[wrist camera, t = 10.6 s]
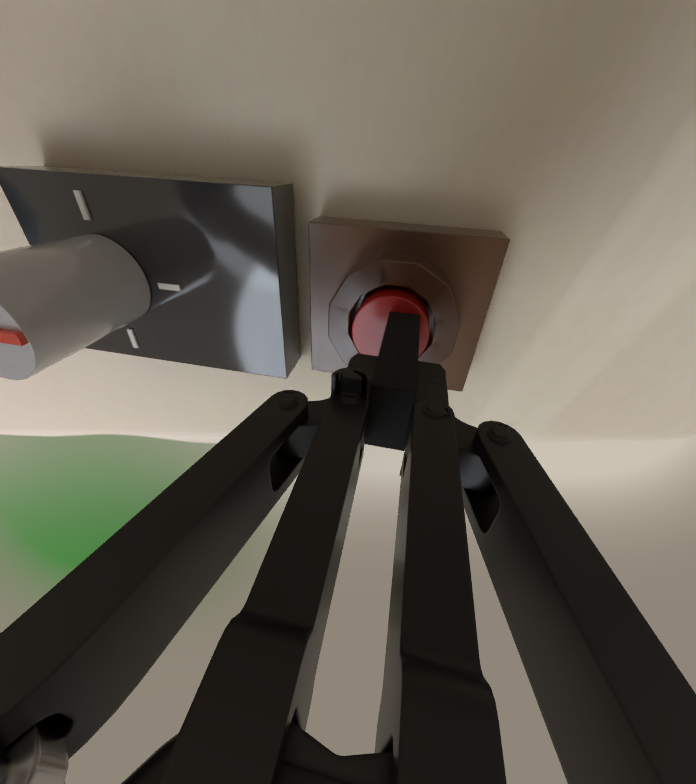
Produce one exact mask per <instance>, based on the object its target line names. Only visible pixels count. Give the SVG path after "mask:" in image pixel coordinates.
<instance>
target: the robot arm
mask: <svg viewBox="0 0 696 784" xmlns="http://www.w3.org/2000/svg"><path fill="white" fill-rule="evenodd" d="M419 335H420V315H416V314H408V313H400V312H391V311H390V312H389V316H388V320H387V324H386V328H385V332H384V336H383V339H382V343H381V347H380V351H379V355H378V356H373V355H366V354H358V353H357V354H356V355H355V356H353V357H352V358H350V361H349V363H348V366H347V367H346V368H341V369H338V370H336V371H335V372H334V373H333V374H332V386H331V397H330V398H328V399H325V400H320V401H308V398H307V397H306V396H305V394H303V393H301V392H299V391H294V390H284V391H281V392H277V393H276V394H274V395H272V396H271V397H270V398H269V399H268V400H267V401H265V402H264V403H263V404H262V405H261V406H260V407H259V408H258V409H256V410H255V411H254V412H253V413H252V414H251V415H250V416H248V417H247V418H246V419H245V420H244V421H243V422H242V423H240V424H239V425H238V426H237V427H236V428H235V429H234V430H232V431H231V432H230V433H229V434H228V435H227V436H226V437H224V438H223V439H222V440H221V441H220V442H219V443H218V444H216V445H215V446H214V447H213V448H212V449H211V450H210V451H209V452H207V453H206V454H205V455H204V456H203V457H202V458H200V459H199V460H198V461H197V462H196V463H195V464H194V465H192V466H191V467H190V468H189V469H188V470H187V471H186V472H184V473H183V474H182V475H181V476H180V477H179V478H178V479H177V480H175V481H174V482H173V483H172V484H171V485H170V486H169V487H167V488H166V489H165V490H164V491H163V492H162V493H161V494H159V495H158V496H157V497H156V498H155V499H154V500H153V501H152V502H150V503H149V504H148V505H147V506H146V507H145V508H143V509H142V510H141V511H140V512H139V513H138V514H137V515H135V516H134V517H133V518H132V519H131V520H130V521H129V522H128V523H126V524H125V525H124V526H123V527H122V528H121V529H120V530H118V531H117V532H116V533H115V534H114V535H113V536H111V537H110V538H109V539H108V540H107V541H106V542H105V543H103V544H102V545H101V546H100V547H99V548H98V549H97V550H95V551H94V552H93V553H92V554H91V555H90V556H89V557H88V558H86V559H85V560H84V561H83V562H82V563H81V564H80V565H79V566H77V567H76V568H75V569H74V570H73V571H72V572H70V573H69V574H68V575H67V576H66V577H65V578H64V579H62V580H61V581H60V582H59V583H58V584H57V585H56V586H54V587H53V588H52V589H51V590H50V591H49V592H48V593H47V594H45V595H44V596H43V597H42V598H41V599H40V600H38V601H37V602H36V603H35V604H34V605H33V606H32V607H30V608H29V609H28V610H27V611H26V612H25V613H24V614H22V615H21V616H20V617H19V618H18V619H17V620H16V621H14V622H13V623H12V624H11V625H10V626H9V627H8V628H7V629H5V630H4V631H3V632H2V633H0V784H65V778H66V773H67V769H68V759H69V758H70V757H72V756H73V754H75V753H76V752H77V751H78V750H79V749H80V748H81V747H82V746H83V745H84V744H85V743H87V742H88V740H89V739H90V738H91V737H92V736H93V735H94V734H95V733H96V732H97V731H98V730H99V729H100V727H102V726H103V724H104V723H105V722H106V721H107V720H108V719H109V718H110V717H111V716H112V715H113V714H114V713H115V712H116V711H117V709H118V708H119V707H120V706H121V704H122V703H123V702H124V701H125V700H126V698H127V697H128V696H129V694H131V692H132V691H133V690H134V688H135V687H136V686H137V685H138V684H139V682H140V681H141V680H142V679H143V677H144V676H145V675H146V673H147V672H148V671H149V669H150V668H151V667H152V665H153V664H154V663H155V662H156V660H157V659H158V658H159V656H160V655H161V654H162V652H163V651H164V650H165V648H166V647H167V646H168V644H169V643H170V642H171V640H172V639H173V638H174V636H175V635H176V634H177V633H178V631H179V630H180V629H181V627H182V626H183V625H184V623H185V622H186V621H187V619H188V618H189V617H190V616H191V614H192V613H193V611H194V610H195V609H196V607H197V606H198V605H199V604H200V602H201V601H202V600H203V598H204V597H205V596H206V595H207V593H208V592H209V591H210V589H211V588H212V586H213V585H214V584H215V583H216V581H217V580H218V579H219V577H220V576H221V575H222V574H223V572H224V571H225V570H226V568H227V567H228V566H229V564H230V563H231V562H232V560H233V559H234V558H235V556H236V555H237V554H238V553H239V551H240V550H241V548H242V547H243V546H244V545H245V543H246V542H247V541H248V539H249V538H250V537H251V535H252V534H253V533H254V531H255V530H256V529H257V527H258V526H259V525H260V524H261V522H262V521H263V520H264V518H265V517H266V516H267V514H268V513H269V512H270V510H271V509H272V508H273V506H274V505H275V504H276V503H277V501H278V500H279V499H280V497H281V496H282V495H283V493H284V492H285V491H286V489H287V488H288V487H289V486H290V484H291V483H292V482H293V480H294V479H295V478H296V476H297V475H298V474H299V475H298V477H297V480H296V482H295V484H294V487H293V489H292V492H291V494H290V497H289V499H288V502H287V504H286V507H285V509H284V511H283V514H282V516H281V518H280V521H279V523H278V526H277V528H276V531H275V533H274V536H273V538H272V540H271V543H270V545H269V548H268V550H267V553H266V555H265V558H264V560H263V562H262V565H261V567H260V570H259V572H258V575H257V577H256V579H255V582H254V585H253V587H252V589H251V592H250V594H249V596H248V599H247V601H246V603H245V605H244V607H243V609H242V611H241V612H240V613H239V614H238V615H236V616H235V617H234V618H232V619H231V621H230V622H229V624H228V625H227V627H226V628H225V630H224V632H223V634H222V636H221V638H220V640H219V642H218V645H217V647H216V649H215V651H214V654H213V656H212V659H211V660H210V663H209V665H208V667H207V670H206V672H205V674H204V677H203V679H202V681H201V683H200V686H199V688H198V690H197V693H196V695H195V698H194V700H193V702H192V704H191V707H190V709H189V711H188V713H187V716H186V718H185V720H184V723H183V725H182V727H181V730H180V732H179V733H178V734H177V735H175V736H174V737H173V738H171V739H170V740H169V741H167V742H166V743H165V744H164V745H163V746H161V747H160V748H159V749H158V750H157V751H156V752H155V753H154V754H152V755H151V756H150V757H149V758H148V759H147V760H146V761H145V762H144V763H143V764H142V765H141V766H140V767H139V768H137V769H136V770H135V771H134V772H133V773H132V774H131V775H130V776H129V777H128V778H127V779H126V780H125V781H124V782H123V783H121V784H506V776H505V768H504V760H503V752H502V744H501V736H500V728H499V720H498V715H497V709H496V703H495V699H494V696H493V693H492V690H491V687H490V686H489V684H488V683H487V681H486V680H485V678H484V677H483V674H482V671H481V667H480V660H479V650H478V641H477V631H476V621H475V611H474V601H473V592H472V582H471V572H470V562H469V553H468V543H467V534H466V523H465V513H464V508H465V511H466V513H467V516H468V519H469V522H470V524H471V527H472V529H473V532H474V535H475V538H476V540H477V543H478V545H479V548H480V551H481V553H482V556H483V559H484V561H485V564H486V567H487V569H488V572H489V575H490V577H491V580H492V583H493V585H494V588H495V591H496V593H497V596H498V599H499V601H500V604H501V607H502V609H503V612H504V614H505V617H506V620H507V623H508V625H509V628H510V631H511V633H512V636H513V639H514V641H515V644H516V647H517V649H518V652H519V654H520V657H521V660H522V663H523V665H524V668H525V670H526V673H527V676H528V678H529V681H530V684H531V686H532V689H533V692H534V694H535V697H536V699H537V702H538V705H539V708H540V710H541V713H542V716H543V718H544V721H545V723H546V726H547V729H548V731H549V734H550V737H551V740H552V742H553V745H554V748H555V750H556V753H557V755H558V758H559V761H560V763H561V766H562V769H563V772H564V774H565V777H566V779H567V782H568V784H696V694H695V692H694V691H693V689H692V688H691V686H690V685H689V683H688V682H687V680H686V679H685V677H684V676H683V675H682V673H681V672H680V670H679V669H678V668H677V666H676V664H675V663H674V661H673V660H672V658H671V657H670V655H669V654H668V652H667V651H666V649H665V648H664V646H663V645H662V643H661V642H660V641H659V639H658V638H657V636H656V635H655V633H654V632H653V630H652V629H651V627H650V626H649V624H648V623H647V621H646V620H645V618H644V617H643V615H642V614H641V612H640V611H639V610H638V608H637V607H636V605H635V604H634V602H633V601H632V599H631V598H630V596H629V595H628V593H627V592H626V590H625V589H624V587H623V586H622V584H621V583H620V582H619V580H618V579H617V577H616V576H615V574H614V573H613V571H612V570H611V568H610V567H609V565H608V564H607V562H606V561H605V559H604V558H603V556H602V555H601V554H600V552H599V550H598V549H597V548H596V546H595V545H594V543H593V542H592V540H591V539H590V537H589V536H588V534H587V533H586V531H585V530H584V528H583V527H582V525H581V524H580V522H579V521H578V519H577V518H576V517H575V515H574V514H573V512H572V511H571V509H570V508H569V506H568V505H567V503H566V502H565V500H564V499H563V497H562V496H561V494H560V493H559V491H558V490H557V489H556V487H555V485H554V484H553V483H552V481H551V480H550V478H549V477H548V475H547V474H546V472H545V471H544V469H543V468H542V466H541V465H540V463H539V462H538V460H537V459H536V457H535V456H534V454H533V453H532V452H531V450H530V449H529V448H528V446H527V444H526V443H525V441H524V440H523V438H522V437H521V435H520V434H519V433H518V432H517V431H516V430H515V429H513V428H512V427H510V426H508V425H506V424H503V423H501V422H496V421H487V422H483V423H481V424H480V425H479V426H478V428H476V427H474V426H471V425H468V424H466V423H464V422H462V421H460V420H458V419H457V418H456V417H455V416H454V412H453V410H452V408H451V407H450V406H449V403H448V392H447V380H446V371H445V370H444V368H443V367H442V366H441V365H440V364H436V363H429V362H422V361H418V357H419ZM364 443H365V444H368V445H374V446H379V447H385V448H391V449H397V450H402V451H404V450H405V452H404V457H403V462H402V467H401V471H400V476H401V485H400V497H399V508H398V520H397V531H396V542H395V554H394V565H393V578H392V588H391V599H390V611H389V622H388V635H387V645H386V656H385V668H384V679H383V690H382V698H381V704H380V710H379V717H378V725H377V735H376V746H375V753H373V754H361V755H351V756H339V755H336V754H334V753H333V752H331V751H330V750H329V749H327V748H326V747H325V746H324V745H322V744H321V743H320V742H318V741H317V740H316V739H314V738H313V737H312V736H310V735H309V734H308V733H306V732H305V728H306V724H307V719H308V714H309V709H310V704H311V699H312V693H313V685H314V680H315V674H316V669H317V664H318V659H319V655H320V650H321V646H322V641H323V636H324V632H325V627H326V622H327V618H328V614H329V609H330V604H331V600H332V595H333V590H334V586H335V581H336V577H337V572H338V568H339V562H340V558H341V554H342V549H343V545H344V540H345V535H346V531H347V526H348V522H349V517H350V512H351V508H352V503H353V499H354V494H355V489H356V485H357V480H358V476H359V471H360V466H361V462H362V457H363V450H364Z"/></svg>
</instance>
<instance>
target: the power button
mask: <svg viewBox="0 0 696 784" xmlns="http://www.w3.org/2000/svg"><path fill="white" fill-rule="evenodd" d="M390 311H391V312H400V313H408V314H416V315H420V335H419V356H420V355H421V353H422V352H423V351H424V349H425V348H426V346H427V343H428V340H429V313H428V309H427V307H426V305H425V303H424V301H423V300H422V299H421V298H420V296H419V295H417V294H416V293H415V292H413V291H412V290H410V289H408V288H405V287H400V286H385V287H381V288H378V289H376V290H374V291H373V292H371V293H370V294H369V295H368V296H367V297H366V298H365V299H364V300H363V301H362V303H361V305H360V307H359V309H358V311H357V313H356V316H355V318H354V320H353V324H352V338H353V341H354V344H355V346H356V348H357V350H358V351H359V352H360V354H366V355H373V356H378V355H379V351H380V347H381V343H382V339H383V336H384V332H385V328H386V324H387V320H388V316H389V312H390Z"/></svg>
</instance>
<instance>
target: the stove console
mask: <svg viewBox="0 0 696 784" xmlns="http://www.w3.org/2000/svg"><path fill="white" fill-rule="evenodd" d="M0 185H1V187H2V189H3V191H4V193H5V195H6V197H7V199H8V201H9V203H10V205H11V207H12V209H13V211H14V213H15V215H16V217H17V219H18V221H19V223H20V225H21V227H22V229H23V232H24V234H25V236H26V238H27V240H28V242H29V244H30V245H34V244H39V243H44V242H49V241H54V240H58V239H63V238H68V237H73V236H78V235H83V234H97V235H101V236H104V237H106V238H109V239H111V240H112V241H114V242H116V243H117V244H119V245H120V246H121V247H123V248H124V249H125V250H126V251H127V252H128V253H129V254H130V255H131V256H132V257H133V258H134V259H135V261H136V262H137V263H138V265H139V266H140V268H141V269H142V271H143V273H144V275H145V277H146V279H147V282H148V284H149V288H150V294H151V301H150V306H149V309H148V310H147V312H146V313H145V314H144V315H143V316H142V317H140V318H138V319H136V320H135V321H133V322H131V323H129V324H127V325H125V326H124V327H122V328H120V329H118V330H116V331H114V332H112V333H111V334H109V335H107V336H105V337H103V338H101V339H99V340H98V341H96V342H94V343H92V344H90V345H88V346H87V347H85V348H88V349H95V350H102V351H108V352H115V353H121V354H128V355H135V356H141V357H148V358H154V359H161V360H167V361H174V362H181V363H187V364H194V365H200V366H207V367H213V368H220V369H227V370H233V371H240V372H246V373H253V374H259V375H266V376H273V377H279V378H286V379H287V378H288V376H289V374H290V373H291V371H292V370H293V368H294V367H295V365H296V364H297V362H298V360H299V359H300V336H299V314H298V292H297V270H296V248H295V227H294V205H293V184H292V183H280V182H266V181H252V180H237V179H223V178H208V177H194V176H179V175H165V174H151V173H136V172H122V171H107V170H93V169H79V168H64V167H50V166H0Z"/></svg>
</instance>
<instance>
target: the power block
mask: <svg viewBox="0 0 696 784" xmlns="http://www.w3.org/2000/svg"><path fill="white" fill-rule="evenodd" d="M509 241H510V239H509V238H508V237H507V236H506V235H505V234H503V233H502V232H501V231H490V230H478V229H466V228H454V227H442V226H430V225H418V224H405V223H393V222H381V221H369V220H357V219H345V218H333V217H321V216H320V217H318V218H316V219H314V220H312V221H310V222H309V267H310V311H311V355H312V370H319V371H326V372H332V373H334V372H335V371H336V370H338V369H341V368H346V367H347V366H348V363H349V361H350V358H352V357H353V356H355V355H356V354H357V353H358V354H360V352H359V351H358V350H357V348H356V346H355V344H354V341H353V338H352V324H353V320H354V318H355V316H356V313H357V311H358V309H359V307H360V305H361V303H362V301H363V300H364V299H365V298H366V297H367V296H368V295H369V294H370V293H371V292H373V291H374V290H376V289H378V288H381V287H385V286H400V287H405V288H408V289H410V290H412V291H413V292H415V293H416V294H417V295H419V296H420V298H421V299H422V300H423V301H424V303H425V305H426V307H427V309H428V313H429V340H428V343H427V346H426V348H425V349H424V351H423V352H422V353H421V355H420V356H419V357H418V361H422V362H429V363H436V364H440V365H441V366H442V367H443V368H444V370H445V371H446V380H447V389H448V390H455V391H463V387H464V384H465V381H466V378H467V375H468V372H469V368H470V365H471V362H472V359H473V356H474V353H475V349H476V346H477V343H478V340H479V337H480V333H481V330H482V327H483V324H484V321H485V318H486V314H487V311H488V308H489V305H490V302H491V298H492V295H493V292H494V289H495V286H496V283H497V279H498V276H499V273H500V270H501V267H502V264H503V260H504V257H505V254H506V251H507V248H508V244H509Z"/></svg>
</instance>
